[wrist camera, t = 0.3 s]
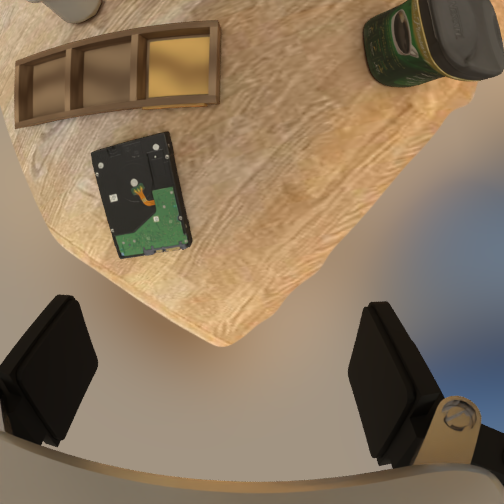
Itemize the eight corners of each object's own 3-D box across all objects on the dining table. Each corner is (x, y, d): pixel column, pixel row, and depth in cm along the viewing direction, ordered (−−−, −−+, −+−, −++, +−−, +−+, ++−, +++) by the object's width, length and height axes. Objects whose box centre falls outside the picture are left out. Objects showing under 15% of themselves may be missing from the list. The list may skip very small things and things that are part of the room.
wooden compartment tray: (32, 62, 30) (15, 61, 26) (221, 29, 30) (217, 20, 27) (32, 127, 34) (15, 131, 31) (219, 106, 34) (215, 105, 31)
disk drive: (98, 150, 37) (126, 252, 43) (88, 153, 34) (119, 261, 40) (170, 129, 36) (195, 240, 42) (164, 130, 34) (191, 249, 39)
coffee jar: (422, 89, 33) (521, 88, 16) (368, 87, 33) (453, 75, 16) (411, 21, 29) (500, -15, 12) (356, 16, 29) (427, -39, 12)
